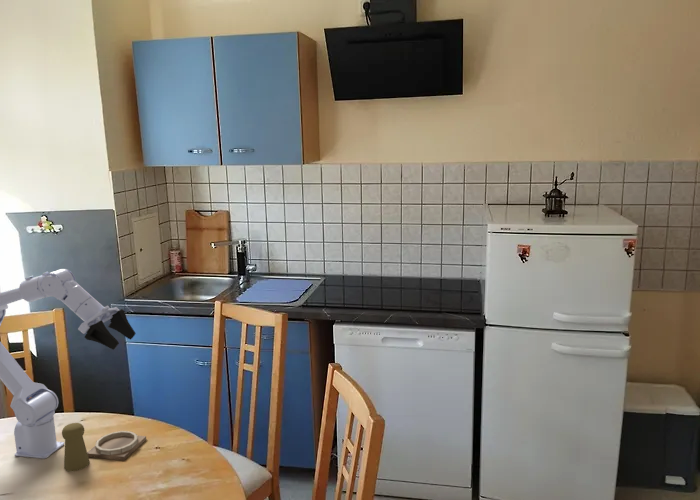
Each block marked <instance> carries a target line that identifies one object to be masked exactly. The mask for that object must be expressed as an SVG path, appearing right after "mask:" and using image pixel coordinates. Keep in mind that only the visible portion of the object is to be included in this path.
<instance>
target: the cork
mask: <svg viewBox="0 0 700 500" xmlns="http://www.w3.org/2000/svg"><path fill="white" fill-rule="evenodd" d="M84 434H85V427H84V425H83V424H82V423H80V422H72V423H68V424H67V425H64V427H63V429H62V430H61V437H62V438H63V439H64V458H63V459H64V460H63V469H64V470H65V472H67V471H68V472H77V471H81V470H83V469H85V468H88V466H89V465H90V463H91V461H90V457H88V454H87V452H88V451H87V447H86V443H85V440H84Z"/></svg>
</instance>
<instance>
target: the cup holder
mask: <svg viewBox="0 0 700 500" xmlns="http://www.w3.org/2000/svg"><path fill="white" fill-rule="evenodd" d="M146 440H147V436H146V435H138V434H137V433H135V432H133V431H130V430H129V431H128V430H119V431H113V432H110V433H107V434H104V435H103V436H101V437H100V438H98V439H97V440H96V441H95V445H94V446H93V447H92V448H90V449H89V450H88V451H87V454H88V458H95V459H108V460H115V461H116V460H118V461H125V460H127V458H128V457H130V456H131V455H132V454H133V453H134V452H135V451H137V449H138V448H139V447H140V446H141V445H143V443H144V442H145V441H146Z"/></svg>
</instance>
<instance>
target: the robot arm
mask: <svg viewBox="0 0 700 500" xmlns="http://www.w3.org/2000/svg"><path fill="white" fill-rule="evenodd" d="M24 279H25V280H23V281H22V282H21V283H20V284H19V286H18V287H17V288H16V287H15V288H12V289H9V290H5V291H1V292H0V327H1V326H2V323H3V321H4V319H5V316H6V311H7V309H8V308H9V304H12V303H15V302H18V301H21V300H24V301H25V302H29V303H32V302H35V301H39V300H41V299H45V298H49V297H50V298H51V297H54V298H55V299H56V300H57V301H61V303H63V304H64V305H65V306H67V308H69V310H70V311H71V312H73V313H74V314H75V315H76V316H77V317H78V318H80V319H81V320H82V321H83V322H82V323H81V324H80V325H79V326H78V328H77V330H78V331H79V332H81V333H82V334H83V335H84V338H85V340H87V341H91V342H95V343H98V344H101V345H103V346H105V347H107V348H109V349H111V350H113V351H114V350H115V349H116V348H117V347H118V346H119V344H120V343H119V341H118V340H117V339H116V337H114V335H113V334H112V333H110V331H109V330H108V329H107V327H106V326H105V323H106V322H108V321H109V320H110V323H109V324H108V328H110V329H113V330H115V331H117V332H118V333H120V334H121V335H122V336H124V337H125V338H127V339H129V340H132V339H133V338H134V337H135V335H137V334H136V332H135V330H134V328H133V327H132V325H131V324H130V322H129V320H128V318H127V315H126V311H125V310H124V309H123V308H121V309H119V308H118V307H117V306H115V307H111V308H110V306H109V305H106V306H104V305H103V304H102V303H100V302H99V301H98V300H97V299H96V298H94V296H92V295H91V294H90V293H89V292H88V291H86V289H85V288H83V286H81V285H80V284H79V283H78V282H77V281H76V276H75V275H74V273H73V272H72V271H71V270H70V269H67V268H59V269H57V270H55V271H51V272H49V271H45V272H42V274H41V275H39V276H38V275H37V276H35V277H34V275H31V276H27V277H25V278H24ZM0 380H1V382H2V383H3V384H4V386H5V387H6V388H7V390H8V391H9V393H11V394H12V396H13V397H12V400H11V402H10V406H9V407H10V408H11V409H12V410H13V413H14V416H15V419H16V420H17V422H16V424H15V427H14V430H13V431H14V432H13V436H14V442H15V443H14V444H15V450H16V452H15V453H14V456H16V457H23V458H24V457H25V458H32V459H33V458H35V459H47V458H49V457H50V456H51V455H52V454H54V453H55V452H56V451H57V450H59V449H60V448H61V447H62V446H65V441H57V435H56V434H57V433H56V426H55V418H54V415H56V413H55V411H56V410H57V408H58V407H59V398H58V396H57V394H56V393H55V392H54V391H53V390H50V389H48V387H47V386H46V385H45V384H44V383H40V382H39V383H38V382H34V381H33V380H32V379H31V378H30V377H29V375H28V374H27V373H26V372H25V370H24V369H23V368H22V366H21V365H20V364H19V363H18V362H17V360H16V359H15V358H14V356H12V354H11V353H10V352H9V350H8V349H7V348H6V347H5V345H4V344H3V343H2V341H0Z"/></svg>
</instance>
